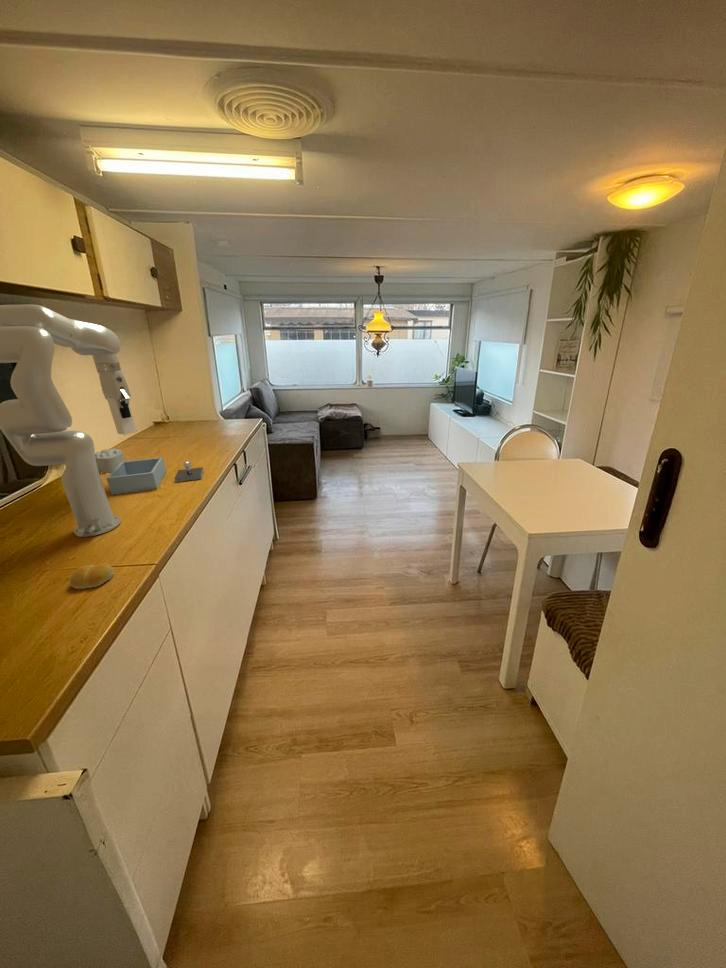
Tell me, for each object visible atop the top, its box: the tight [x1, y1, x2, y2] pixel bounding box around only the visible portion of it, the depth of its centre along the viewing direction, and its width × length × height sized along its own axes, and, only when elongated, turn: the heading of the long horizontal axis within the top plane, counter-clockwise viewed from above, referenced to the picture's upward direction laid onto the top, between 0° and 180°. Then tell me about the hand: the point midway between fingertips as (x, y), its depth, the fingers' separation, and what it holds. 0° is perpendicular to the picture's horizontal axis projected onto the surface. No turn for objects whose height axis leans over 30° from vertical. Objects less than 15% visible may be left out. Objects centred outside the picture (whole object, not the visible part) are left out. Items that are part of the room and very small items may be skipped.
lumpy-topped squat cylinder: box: [95, 448, 126, 474], centre depth 171 cm, size 10×13×9 cm
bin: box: [106, 457, 167, 496], centre depth 154 cm, size 20×16×7 cm
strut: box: [106, 397, 138, 436], centre depth 144 cm, size 5×5×14 cm
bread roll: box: [68, 563, 114, 590], centre depth 94 cm, size 8×9×4 cm
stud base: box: [174, 460, 205, 483], centre depth 158 cm, size 10×10×7 cm
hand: (122, 416), depth 144 cm, fingers closed on strut, 4 cm apart
